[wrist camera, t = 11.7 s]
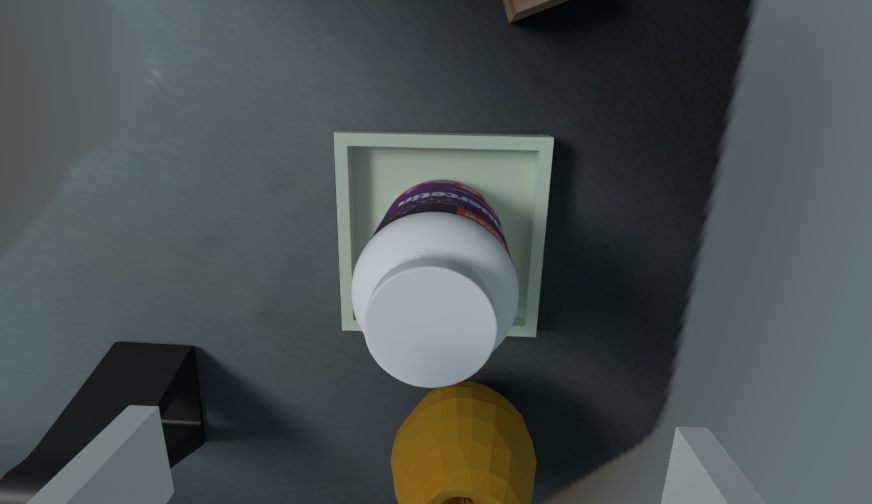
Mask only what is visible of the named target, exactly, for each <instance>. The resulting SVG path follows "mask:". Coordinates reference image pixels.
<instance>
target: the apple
mask: <svg viewBox="0 0 872 504" xmlns="http://www.w3.org/2000/svg"><path fill="white" fill-rule="evenodd" d="M536 463H537V461H536V457H535V452H534V447H533V443H532V440H531V437H530V435H529V432H528V430H527V427H526V425H525V422H524V420H523V417H522V416H521V414H520V413H519V412H518V411H517V410H516V408H515V407H514V406H513V405H512V404H511V403H510V402H509V401H508V400H507V399H506V398H505V397H503V396H502V395H501V394H500V393H498V392H496V391H495V390H493V389H491V388H490V387H487V386H485V385H483V384H480V383H477V382H473V381H462V382H459V383H456V384H453V385H449V386H445V387H438V388H435V389H433V390H431V391H430V392H429V393H428V394H427V395H426V396H425V397H424V398H423V400H422V401H421V402H420V403H419V404H418V405H417V406H416V407H415V409H414V410H413V411H412V412H411V414H410V415H409V416H408V417H407V419H406V420H405V421H404V423H403V424H402V426H401V427H400V429H399V430H398V432H397V434H396V438H395V441H394V445H393V449H392V455H391V466H392V473H393V480H394V487H395V494H396V498H397V500H398V503H399V504H530V502H531V498H532V493H533V488H534V477H535V470H536Z"/></svg>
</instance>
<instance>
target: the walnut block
mask: <svg viewBox="0 0 872 504" xmlns="http://www.w3.org/2000/svg"><path fill="white" fill-rule="evenodd" d="M502 1H503V4H504V7H505V11H506V14H507V18H508V21H509V23H512V22H514V21H517V20H520V19H522V18H525V17H527V16H530V15H532V14H535V13H537V12H540V11H543V10H545V9H548V8H550V7H553V6H555V5H558V4H561V3H563V2H566V1H568V0H502Z"/></svg>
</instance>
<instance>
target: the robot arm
mask: <svg viewBox="0 0 872 504" xmlns="http://www.w3.org/2000/svg"><path fill="white" fill-rule="evenodd" d="M173 493H174V488H173V483H172V477H171V472H170V466H169V461H168V455H167V450H166V445H165V439H164V434H163V428H162V423H161V417H160V412H159V406H137V405H129V406H128V407H127V408H126V409H125V410H124V411H123V412H122V413H121V414H120V415H118V416H117V417H116V418H115V419H114V420H113V421H112V422H111V423H110V424H109V425H108V426H107V427H106V428H105V429H104V430H103V431H102V432H101V433H100V434H99V435H97V436H96V437H95V438H94V439H93V440H92V441H91V442H90V443H89V444H88V445H87V446H86V447H85V448H84V449H83V450H82V451H81V452H80V453H79V454H78V455H76V456H75V457H74V458H73V459H72V460H71V461H70V462H69V463H68V464H67V465H66V466H65V467H64V468H63V469H62V470H61V471H60V472H59V473H58V474H57V475H55V476H54V477H53V478H52V479H51V480H50V481H49V482H48V483H47V484H46V485H45V486H44V487H43V488H42V489H41V490H40V491H39V492H38V493H37V494H36V495H35V496H33V497H32V498H31V499H30V500H29V501H28V502H27V503H26V504H166V503H167V502H168V500H169V499H170V498H171V496H172V495H173ZM661 504H765V502H764V501H763V500H762V499H761V497H760V496H759V495H758V493H757V492H756V491H755V489H754V488H753V487H752V485H751V484H750V483H749V481H748V480H747V479H746V477H745V476H744V475H743V473H742V472H741V471H740V469H738V467H737V466H736V464H735V463H734V462H733V460H732V459H731V458H730V456H729V455H728V454H727V452H726V451H725V450H724V448H723V447H722V446H721V444H720V443H719V442H718V441H717V439H716V438H715V437H714V435H713V434H712V433H711V431H710V430H709V429H708V428H699V427H698V428H697V427H676V432H675V437H674V442H673V447H672V452H671V457H670V462H669V467H668V472H667V477H666V481H665V486H664V491H663V496H662V501H661Z"/></svg>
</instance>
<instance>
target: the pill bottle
mask: <svg viewBox="0 0 872 504" xmlns="http://www.w3.org/2000/svg"><path fill="white" fill-rule="evenodd" d="M351 294H352V305H353V310H354V313H355V317H356V319H357V322H358V324H359V326H360V328H361V330H362V332H363V333H364V335H365V339H366V343H367V346H368V348H369V351H370V352H371V354H372V356H373V357H374V359H375V360H376V361H377V363H378V364H379V365H380V366H381V367H382V368H383V369H384V370H385V371H386V372H388V373H389V374H390V375H392V376H393V377H395V378H397V379H399V380H400V381H403V382H405V383H408V384H410V385H414V386H419V387H429V388H436V387H445V386H449V385H453V384H456V383H459V382H461V381H463V380H465V379H467V378H469V377H470V376H472V375H473V374H475V373H476V372H477V371H478V370H479V369H480V368H481V367H482V366H483V365H484V364H485V363H486V361H487V360H488V358H489V357H490V355H491V353H492V351H493V350H494V349H495V348H497V347H498V346H499V344H500V343H501V342H502V341H503V340H504V338H505V337H506V335H507V334H508V332H509V330H510V328H511V326H512V324H513V322H514V319H515V316H516V312H517V306H518V297H519V287H518V280H517V275H516V272H515V268H514V265H513V262H512V259H511V256H510V253H509V249H508V246H507V243H506V240H505V237H504V234H503V230H502V227H501V224H500V221H499V218H498V216H497V213H496V211H495V210H494V208H493V206H492V205H491V203H490V202H489V201H488V200H487V199H486V198H485V197H484V196H483V195H482V194H481V193H480V192H479V191H477V190H476V189H474V188H473V187H471V186H469V185H467V184H465V183H462V182H459V181H455V180H449V179H433V180H428V181H424V182H421V183H418V184H416V185H414V186H412V187H410V188H409V189H407V190H406V191H404V192H403V193H402V194H401V195H400V196H399V197H398V198H397V199H396V200H395V201H394V202H393V203H392V205H391V206H390V208H389V209H388V211H387V213H386V214H385V216H384V218H383V219H382V221H381V223H380V224H379V226H378V227H377V229H376V231H375V232H374V234H373V235H372V237H371V239H370V240H369V242H368V243H367V245H366V246H365V248H364V250H363V251H362V253H361V255H360V257H359V259H358V261H357V263H356V266H355V269H354V273H353V278H352V289H351Z"/></svg>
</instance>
